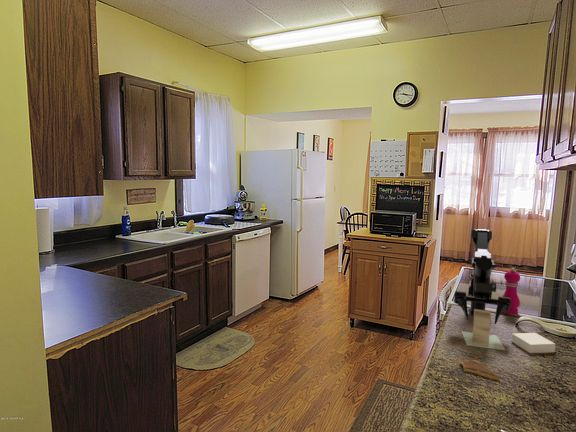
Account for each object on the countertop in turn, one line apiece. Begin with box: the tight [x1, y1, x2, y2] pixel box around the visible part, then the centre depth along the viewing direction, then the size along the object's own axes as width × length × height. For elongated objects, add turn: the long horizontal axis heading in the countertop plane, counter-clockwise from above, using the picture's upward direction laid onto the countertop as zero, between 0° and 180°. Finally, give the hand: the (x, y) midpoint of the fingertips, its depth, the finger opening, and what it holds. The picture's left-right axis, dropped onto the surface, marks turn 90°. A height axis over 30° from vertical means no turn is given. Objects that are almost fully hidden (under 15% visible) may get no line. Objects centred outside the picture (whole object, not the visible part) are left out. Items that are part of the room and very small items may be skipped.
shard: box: [459, 359, 502, 381], centre depth 113 cm, size 11×8×2 cm
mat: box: [461, 330, 506, 351], centre depth 136 cm, size 12×12×1 cm
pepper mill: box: [501, 267, 521, 315], centre depth 164 cm, size 7×7×20 cm
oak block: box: [472, 309, 492, 346], centre depth 133 cm, size 5×5×11 cm
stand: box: [511, 332, 556, 354], centre depth 131 cm, size 9×9×3 cm
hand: (481, 321), depth 136 cm, fingers open, 9 cm apart
